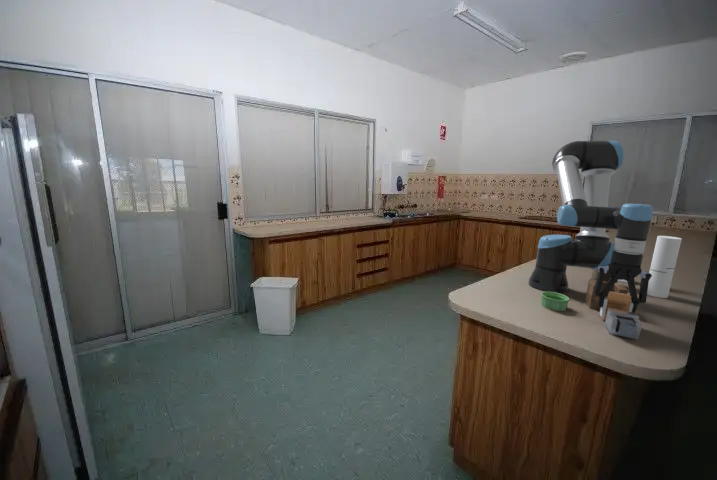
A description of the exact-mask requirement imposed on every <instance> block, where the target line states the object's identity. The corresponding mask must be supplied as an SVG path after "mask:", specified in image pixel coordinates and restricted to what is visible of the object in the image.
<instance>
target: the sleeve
mask: <svg viewBox="0 0 717 480" xmlns="http://www.w3.org/2000/svg"><path fill="white" fill-rule="evenodd" d="M615 315H616V316H622V317H628V318H630V319H631V320H632V321H633V322H634V323H635V325H636V326H637V331H636V335H635V338H632V337H627V336H622V335H619V333H618V332H617V330H616V326H617V321H618V318H617V317H616V316H615ZM604 321H605V320H604ZM642 325H643V323H642V322H641V321H640V315H639V314H638V313H637V312H629V311H623V310H617V309H611V308H608V311H607V316H606V321H605V322H604V327H605V329H606V331H607V332H608V334H609V335H614V336H619V337H623V338H629V339H634V340H639V339H640V333H641V331H642Z"/></svg>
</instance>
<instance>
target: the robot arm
mask: <svg viewBox="0 0 717 480" xmlns="http://www.w3.org/2000/svg"><path fill="white" fill-rule="evenodd" d="M624 158H625V150H624V147H623V145H622V143H621V142H619V141H618V140H607V139H606V140H576V141H571V142H569V143H566V144H564V145H563V146H562V147H561V148H559V149H558V150H557V151H556V153H555V154H554V156H553V158H552V164H551V165H552V171H553V172H554V173H556V176H557V177H556V178H557V183H558V186H559V187H558V188H559V193H560V198H561V203H562V204H561V205H560V206H559V208H558V210H557V215H556V216H557V218H556V220H557V223H558V224H559V225H561V226H567V227H570V228H571V227H574V228H575V227H577V228H579V229H580V230H579V232H578V233H576V234H575V236H574V237H575V238H574V239H573V237H572V236H571V235H568V234H567V235H566V234H548V235H543V236H541V237H540V239H539V241H538V244H537V253H536V260H535V266H534V269H533V271H532V273H531V274H530V276H529V278H528V285H529V286H530V287H532V288H534V289H538V290H541V291H543V292H555V293H566V292H568V290H569V282H568V277H567V267H575V268H584V269H592V270H593V269H598V272H599V273H598V277H597V280H596V284H595V287H594V291H593V292H594V294H595V295H596V296H599V301H598V305H599V307H601V309H600V310H599V315H600V317H601V318H602V317H603V318H604V316H605V311H606V306H607V301H608V299H607V298H606V296H607V294H608V293H609V291H610V290H611V288H612V287H613V285H614V284H615V282H617V283H618V281H617V280H618V279H619V280H622V279H624V280H627V282H628V283H627V284H628V285H627V286H628V292H629V294H630V295H631V301H630V305H629V310H628V311H629V312H635V313H637V308H638V307H637V306H638V305H640V303H642V304H646V302H647V299H648V298H647V297H648V294H647V290H648V283H649V280H650V278H651V277H652V275H651V274H650V273H649V272H650V271H649V272H648V271H643V270H642V267H641V266H642V263H643V257H644V255H643V253H645V250H646V244H647V239H648V235H649V230H650V226H651V222H652V219H653V210H654V208H653V206H652V205H651V204H643V203H624V204H622V205H621V206H612V207H610V206H609V197H610V186H611V176H613V175H614V174H616V173H617V171H616V170H618V169H620V168H621V167H622V165H623V161H624ZM580 170H581V171H580ZM581 175H582V176H583V177H584V186H583V181H582V178H581ZM606 229H608V230H609V229H610V230H616V234H615V239H614V242H612V241H611V239H610V236H609V235H608V234H607V233H606V231H607V230H606ZM607 270H609V271H610V272H611V276H610V278H609V280H608V282H607V283H606V285H605V286H604V288H603V289H602V291H601V292H600V290H601V286H602V283H603V280H604V276H605V273H607ZM639 275H640V285H639V290H638V291H639V292H638V293H637V288H636V281H635V278H636V277H638V276H639Z"/></svg>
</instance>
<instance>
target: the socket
mask: <svg viewBox="0 0 717 480" xmlns="http://www.w3.org/2000/svg"><path fill="white" fill-rule="evenodd" d="M606 283H607V282H605V281H603V283H602V286H601V290H600V292H601V291H602V289H603V288H604V286H605V285H606ZM595 284H596V280H591V278H589V280H588V283H587V289H586V294H585V298H584V299H585V301H584V302H585V303H586V305H587V306H588V309H591V310H592V309H593V310H597V311H600V309H601V307H599V305H598V301H599V296H596V295H595V294H594V292H593V291H594V287H595ZM610 291H611V292H617V293H624V294H629V289H627V288H626V287H625V286H624V285H623V284H622V283H619V282H617V283H615V284H614V285H613V287H612V288H611V290H610Z"/></svg>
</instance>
